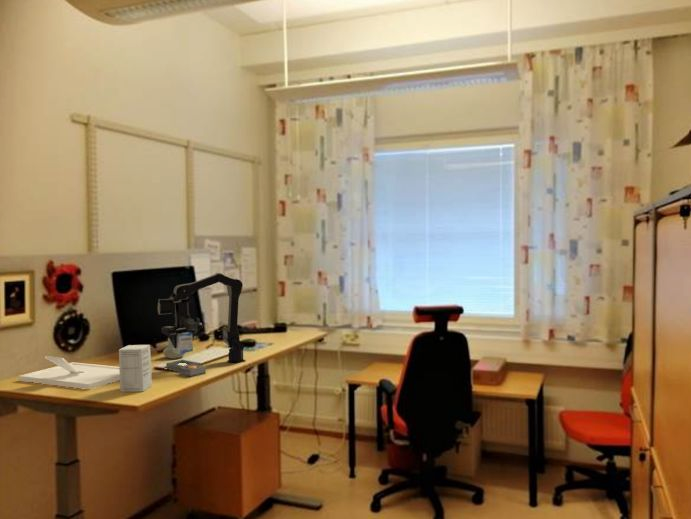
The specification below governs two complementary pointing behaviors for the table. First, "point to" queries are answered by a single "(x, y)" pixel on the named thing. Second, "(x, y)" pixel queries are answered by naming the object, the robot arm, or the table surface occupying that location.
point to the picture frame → (74, 374)
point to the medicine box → (184, 343)
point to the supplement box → (135, 368)
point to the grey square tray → (175, 366)
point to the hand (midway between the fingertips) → (183, 346)
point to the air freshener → (171, 351)
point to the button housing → (192, 371)
